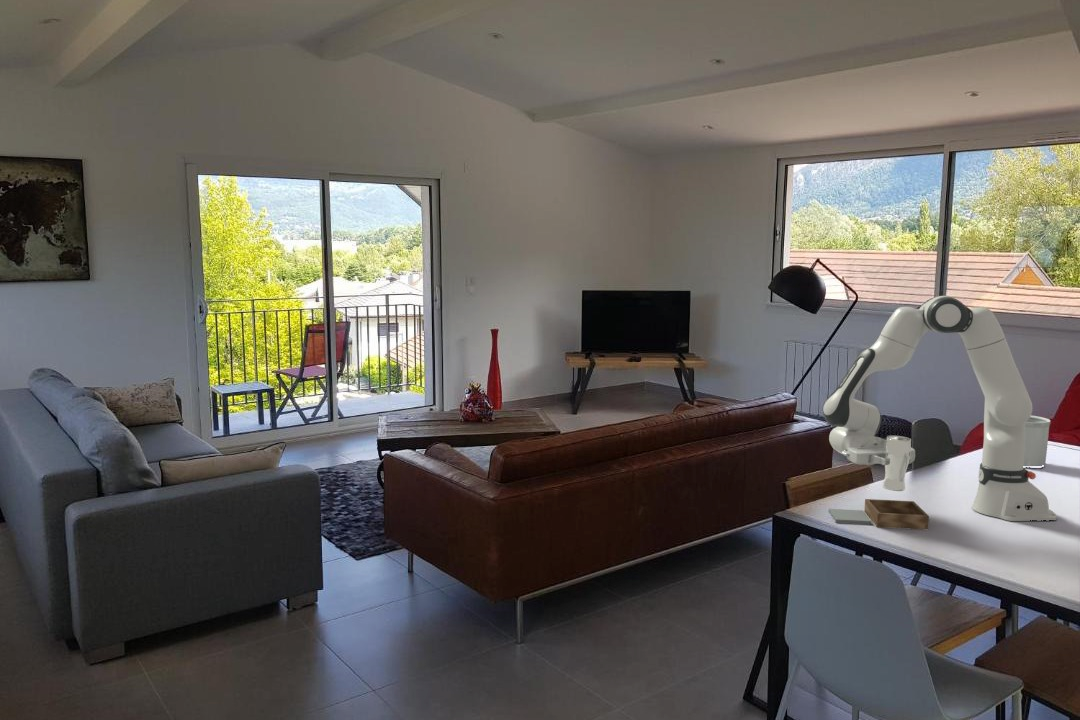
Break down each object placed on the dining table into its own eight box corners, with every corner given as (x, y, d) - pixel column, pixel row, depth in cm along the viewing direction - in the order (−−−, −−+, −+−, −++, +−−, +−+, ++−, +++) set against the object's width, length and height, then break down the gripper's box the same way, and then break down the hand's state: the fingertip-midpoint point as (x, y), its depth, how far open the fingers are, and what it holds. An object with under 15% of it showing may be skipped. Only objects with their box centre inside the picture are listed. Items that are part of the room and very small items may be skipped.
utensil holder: (1013, 469, 305) (1017, 422, 303) (993, 458, 320) (997, 413, 318) (1054, 470, 305) (1059, 422, 302) (1032, 459, 319) (1036, 414, 317)
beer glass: (908, 492, 241) (914, 441, 239) (883, 490, 242) (888, 439, 240) (903, 486, 247) (908, 436, 245) (878, 483, 249) (883, 434, 247)
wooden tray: (912, 514, 252) (913, 501, 251) (928, 529, 238) (929, 516, 238) (864, 511, 254) (865, 498, 253) (876, 527, 240) (877, 513, 239)
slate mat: (862, 513, 252) (862, 510, 252) (871, 524, 242) (871, 521, 242) (828, 511, 253) (828, 508, 253) (835, 522, 243) (835, 519, 243)
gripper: (839, 441, 253) (868, 452, 240) (897, 438, 258) (928, 449, 245) (837, 461, 254) (866, 474, 241) (895, 458, 259) (926, 470, 246)
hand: (898, 461), depth 243 cm, fingers closed on beer glass, 6 cm apart
